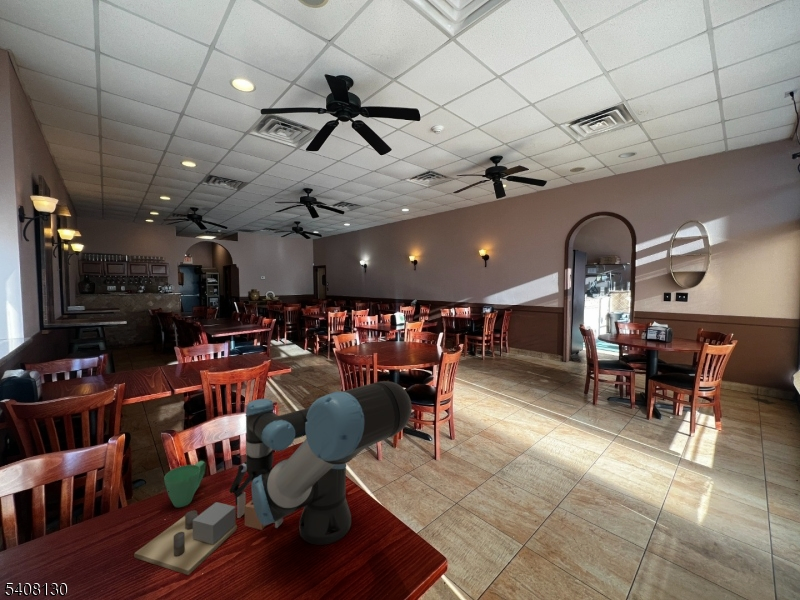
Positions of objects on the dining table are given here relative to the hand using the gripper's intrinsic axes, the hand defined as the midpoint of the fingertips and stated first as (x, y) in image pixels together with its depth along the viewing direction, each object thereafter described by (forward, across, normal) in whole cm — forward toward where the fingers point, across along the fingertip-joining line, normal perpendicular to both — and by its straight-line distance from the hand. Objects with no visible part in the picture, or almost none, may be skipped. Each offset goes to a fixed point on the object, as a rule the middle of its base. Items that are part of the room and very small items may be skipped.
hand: (259, 520), depth 101 cm
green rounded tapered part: (0, +30, -2) cm, 30 cm away
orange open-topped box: (0, 0, 0) cm, 0 cm away
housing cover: (-1, +8, +9) cm, 12 cm away
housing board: (0, +13, +13) cm, 18 cm away
